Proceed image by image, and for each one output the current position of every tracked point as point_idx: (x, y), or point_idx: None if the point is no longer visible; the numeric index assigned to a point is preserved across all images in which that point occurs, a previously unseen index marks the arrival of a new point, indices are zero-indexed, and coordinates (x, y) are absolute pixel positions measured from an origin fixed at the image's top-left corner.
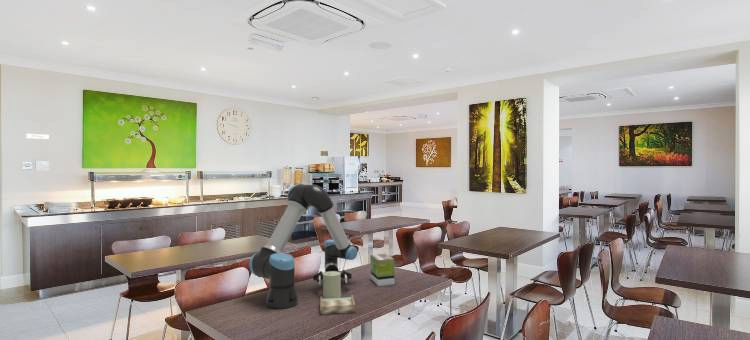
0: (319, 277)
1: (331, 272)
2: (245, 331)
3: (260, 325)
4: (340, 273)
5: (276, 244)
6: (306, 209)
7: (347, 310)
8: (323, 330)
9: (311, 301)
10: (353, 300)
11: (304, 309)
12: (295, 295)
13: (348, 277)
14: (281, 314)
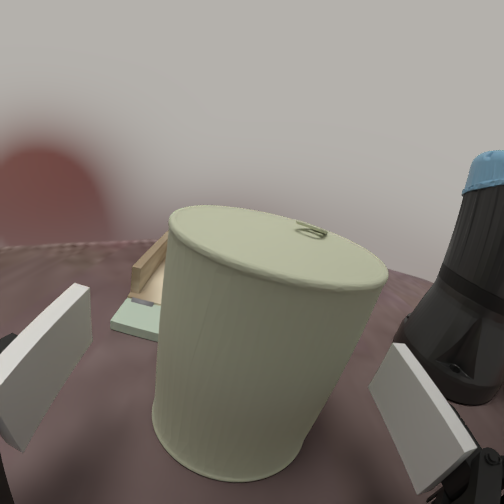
0: (432, 387)
1: (293, 256)
2: (402, 275)
3: (395, 281)
4: (180, 209)
5: None
6: None
7: None
8: None
9: (349, 367)
10: (161, 239)
11: None
12: (415, 313)
13: (11, 337)
14: (391, 304)
